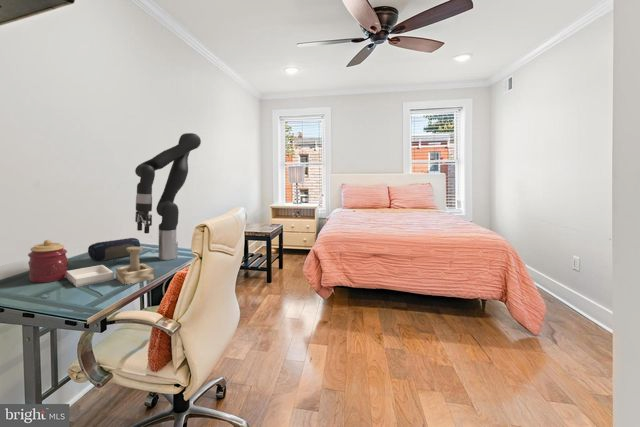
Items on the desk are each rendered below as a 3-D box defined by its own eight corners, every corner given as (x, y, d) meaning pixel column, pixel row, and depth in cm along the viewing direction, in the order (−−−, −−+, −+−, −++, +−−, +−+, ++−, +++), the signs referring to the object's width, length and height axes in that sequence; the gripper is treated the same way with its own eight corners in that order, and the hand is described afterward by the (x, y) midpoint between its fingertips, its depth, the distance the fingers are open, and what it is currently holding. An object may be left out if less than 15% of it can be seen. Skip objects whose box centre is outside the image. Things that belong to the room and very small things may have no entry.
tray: (102, 271, 148) (102, 264, 147) (113, 279, 139) (113, 272, 139) (66, 278, 136) (66, 270, 136) (76, 287, 128) (75, 279, 128)
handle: (138, 281, 140) (138, 249, 138) (124, 280, 139) (124, 248, 137) (144, 277, 144) (144, 247, 142) (131, 276, 144) (130, 246, 142)
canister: (74, 276, 139) (72, 239, 136) (39, 285, 127) (36, 245, 125) (58, 271, 144) (56, 235, 141) (23, 279, 132) (20, 240, 130)
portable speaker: (94, 264, 157) (94, 245, 156) (86, 260, 162) (85, 242, 161) (143, 254, 178) (143, 238, 177) (134, 251, 184) (134, 235, 182)
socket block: (143, 272, 150) (143, 263, 149) (153, 278, 143) (153, 268, 143) (115, 278, 140) (115, 268, 140) (125, 285, 134) (125, 274, 133)
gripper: (157, 203, 159) (156, 233, 161) (145, 200, 168) (144, 229, 170) (142, 203, 153) (141, 234, 155) (130, 200, 162) (129, 230, 164)
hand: (143, 231), depth 162 cm, fingers open, 8 cm apart
